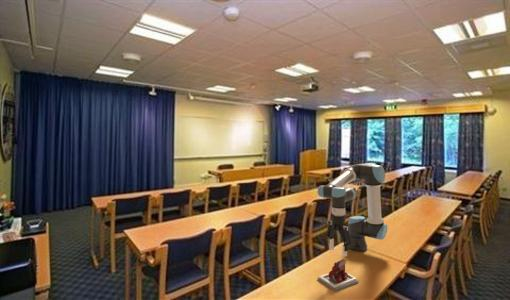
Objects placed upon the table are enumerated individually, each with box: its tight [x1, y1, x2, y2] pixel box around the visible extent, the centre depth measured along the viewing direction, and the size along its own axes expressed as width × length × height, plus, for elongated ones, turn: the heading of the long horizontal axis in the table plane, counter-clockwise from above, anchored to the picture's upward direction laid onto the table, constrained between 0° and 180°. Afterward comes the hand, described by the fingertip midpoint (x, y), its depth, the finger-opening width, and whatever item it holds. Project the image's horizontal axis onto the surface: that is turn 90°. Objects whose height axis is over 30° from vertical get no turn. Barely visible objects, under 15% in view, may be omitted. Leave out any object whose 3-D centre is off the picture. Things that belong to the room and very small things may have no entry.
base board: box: [317, 272, 359, 292], centre depth 156 cm, size 18×14×2 cm
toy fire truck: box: [328, 258, 349, 283], centre depth 156 cm, size 7×12×10 cm, turn 126°
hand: (338, 252), depth 155 cm, fingers open, 9 cm apart
